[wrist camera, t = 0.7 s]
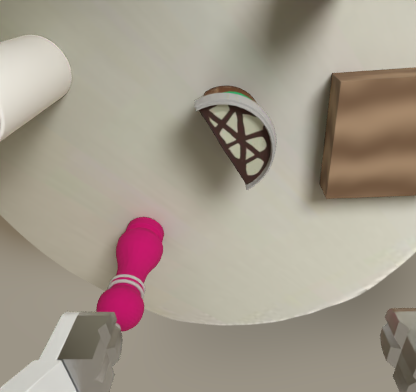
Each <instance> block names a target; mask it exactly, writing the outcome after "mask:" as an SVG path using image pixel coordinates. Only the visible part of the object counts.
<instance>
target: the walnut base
mask: <svg viewBox="0 0 416 392" xmlns="http://www.w3.org/2000/svg"><path fill="white" fill-rule="evenodd" d="M320 186H321V188H322V190H323V193H324V195H325V197H326V199H331V198H358V197H384V196H411V195H416V68H402V69H387V70H373V71H358V72H344V73H332V79H331V88H330V97H329V106H328V115H327V124H326V132H325V141H324V150H323V159H322V168H321V177H320Z"/></svg>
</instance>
